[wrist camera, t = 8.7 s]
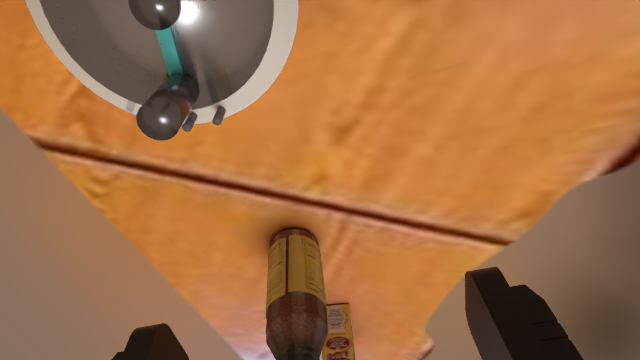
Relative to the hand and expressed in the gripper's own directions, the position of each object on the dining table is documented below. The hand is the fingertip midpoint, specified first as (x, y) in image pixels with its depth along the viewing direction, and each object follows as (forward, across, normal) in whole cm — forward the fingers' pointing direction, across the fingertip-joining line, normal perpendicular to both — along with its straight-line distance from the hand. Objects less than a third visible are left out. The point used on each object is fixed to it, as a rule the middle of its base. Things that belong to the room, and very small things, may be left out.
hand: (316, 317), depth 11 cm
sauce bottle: (+30, +6, +23) cm, 39 cm away
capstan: (+28, +10, -6) cm, 31 cm away
